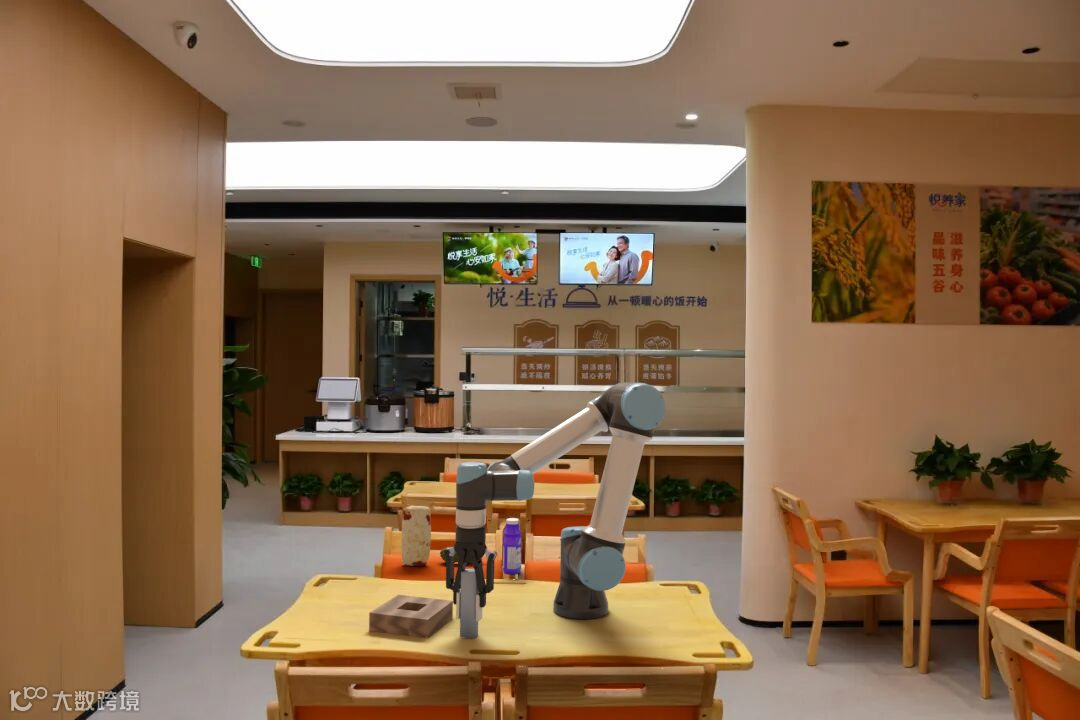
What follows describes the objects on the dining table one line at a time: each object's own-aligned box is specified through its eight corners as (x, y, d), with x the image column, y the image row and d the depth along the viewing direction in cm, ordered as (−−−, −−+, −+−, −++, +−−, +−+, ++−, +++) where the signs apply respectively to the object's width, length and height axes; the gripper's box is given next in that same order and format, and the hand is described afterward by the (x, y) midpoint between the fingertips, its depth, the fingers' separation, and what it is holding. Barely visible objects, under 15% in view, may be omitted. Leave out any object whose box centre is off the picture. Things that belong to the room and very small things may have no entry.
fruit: (460, 557, 272) (460, 538, 272) (485, 563, 265) (486, 543, 265) (436, 563, 263) (436, 544, 263) (462, 569, 256) (462, 549, 256)
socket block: (452, 617, 208) (452, 600, 208) (427, 637, 192) (427, 619, 192) (398, 611, 212) (398, 594, 212) (369, 630, 197) (369, 612, 197)
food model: (399, 567, 257) (400, 506, 257) (402, 562, 263) (403, 503, 263) (429, 568, 257) (430, 507, 257) (431, 562, 263) (432, 503, 263)
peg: (480, 633, 196) (481, 569, 196) (474, 639, 192) (475, 574, 192) (463, 631, 198) (465, 568, 198) (457, 637, 193) (458, 572, 193)
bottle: (517, 576, 248) (518, 521, 248) (500, 575, 250) (501, 520, 250) (522, 570, 256) (523, 517, 256) (506, 569, 257) (507, 516, 257)
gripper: (508, 524, 196) (507, 617, 196) (444, 519, 201) (442, 610, 201) (498, 530, 189) (497, 627, 189) (432, 525, 194) (430, 619, 194)
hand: (469, 618), depth 195 cm, fingers closed on peg, 4 cm apart
